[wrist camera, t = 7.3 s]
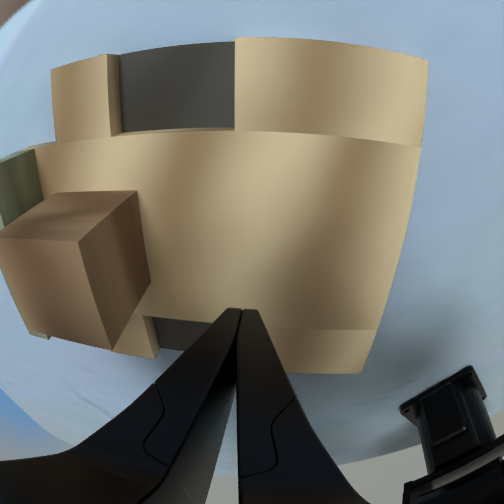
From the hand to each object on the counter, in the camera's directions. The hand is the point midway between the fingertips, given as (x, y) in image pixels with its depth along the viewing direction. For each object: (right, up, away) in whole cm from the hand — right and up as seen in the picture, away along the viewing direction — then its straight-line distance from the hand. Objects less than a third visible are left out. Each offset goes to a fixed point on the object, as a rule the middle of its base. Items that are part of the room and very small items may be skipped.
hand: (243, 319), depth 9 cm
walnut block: (-7, +3, +5) cm, 9 cm away
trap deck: (-1, +3, +5) cm, 6 cm away
